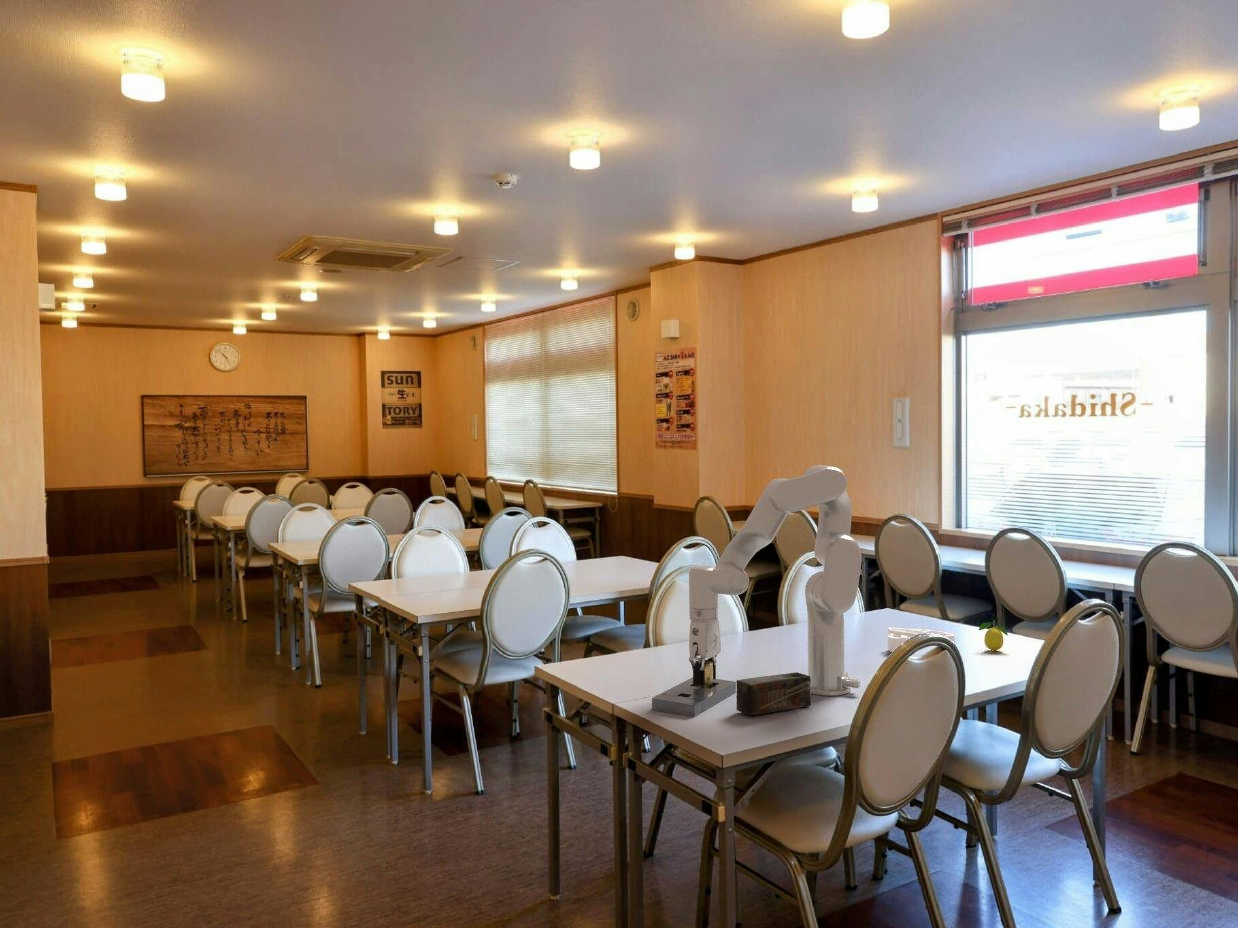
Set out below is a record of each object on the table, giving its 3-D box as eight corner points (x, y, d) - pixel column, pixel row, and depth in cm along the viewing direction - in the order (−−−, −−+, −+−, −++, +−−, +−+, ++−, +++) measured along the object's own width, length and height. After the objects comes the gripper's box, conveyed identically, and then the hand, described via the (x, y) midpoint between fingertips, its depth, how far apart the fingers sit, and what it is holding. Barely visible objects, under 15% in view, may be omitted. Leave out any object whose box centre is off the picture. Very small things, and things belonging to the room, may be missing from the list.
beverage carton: (797, 702, 234) (813, 707, 228) (734, 711, 226) (749, 717, 220) (796, 671, 235) (813, 675, 229) (733, 679, 226) (748, 683, 220)
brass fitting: (715, 694, 242) (715, 661, 241) (708, 699, 238) (708, 664, 238) (701, 692, 244) (700, 659, 244) (693, 696, 240) (693, 662, 240)
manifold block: (735, 692, 243) (735, 681, 243) (694, 717, 223) (694, 704, 223) (695, 686, 250) (695, 675, 249) (651, 709, 229) (651, 698, 229)
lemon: (978, 651, 284) (978, 619, 284) (987, 648, 288) (987, 616, 288) (999, 655, 279) (999, 622, 279) (1008, 652, 283) (1008, 620, 283)
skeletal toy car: (879, 653, 284) (879, 630, 284) (898, 647, 292) (898, 624, 291) (940, 664, 269) (940, 640, 269) (958, 658, 277) (958, 634, 277)
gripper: (701, 620, 231) (702, 691, 232) (730, 609, 246) (731, 675, 246) (675, 618, 235) (676, 687, 235) (705, 606, 249) (706, 672, 250)
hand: (704, 680), depth 241 cm, fingers open, 5 cm apart
